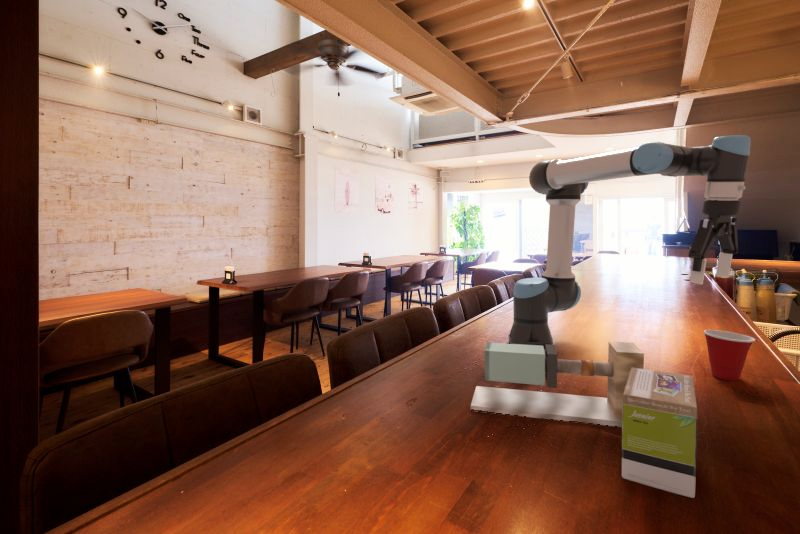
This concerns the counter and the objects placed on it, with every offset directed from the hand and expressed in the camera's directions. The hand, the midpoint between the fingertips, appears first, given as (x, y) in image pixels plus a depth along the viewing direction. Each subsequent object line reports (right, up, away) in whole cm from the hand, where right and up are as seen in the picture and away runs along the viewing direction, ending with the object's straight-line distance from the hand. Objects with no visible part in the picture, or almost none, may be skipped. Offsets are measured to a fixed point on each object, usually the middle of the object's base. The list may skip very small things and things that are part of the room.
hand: (709, 280), depth 106 cm
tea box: (-38, -31, -38) cm, 62 cm away
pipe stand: (-47, -29, -15) cm, 57 cm away
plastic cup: (+6, -27, +2) cm, 27 cm away
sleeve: (-56, -22, -13) cm, 61 cm away
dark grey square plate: (-48, -23, -15) cm, 55 cm away
